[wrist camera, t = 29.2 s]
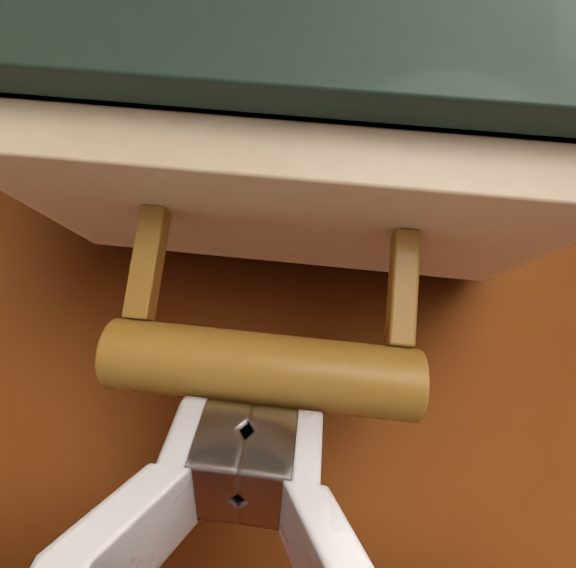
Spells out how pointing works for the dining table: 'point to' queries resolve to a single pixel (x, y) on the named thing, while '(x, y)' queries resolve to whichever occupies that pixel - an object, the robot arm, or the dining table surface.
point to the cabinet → (306, 58)
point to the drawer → (284, 231)
